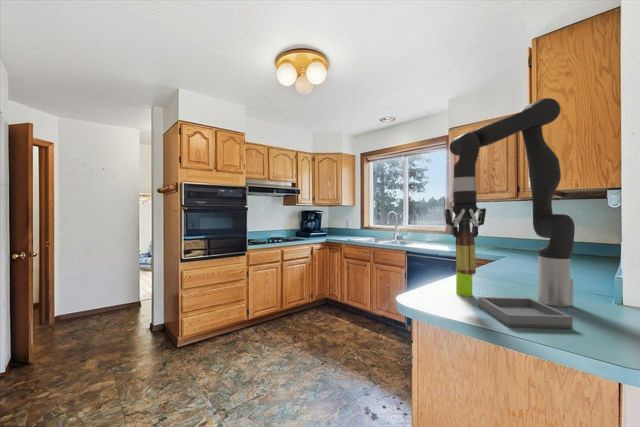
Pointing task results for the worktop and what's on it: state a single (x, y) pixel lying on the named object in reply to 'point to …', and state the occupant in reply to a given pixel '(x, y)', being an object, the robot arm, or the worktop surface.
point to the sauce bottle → (465, 249)
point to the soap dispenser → (463, 284)
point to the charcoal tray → (524, 313)
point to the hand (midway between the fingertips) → (464, 237)
